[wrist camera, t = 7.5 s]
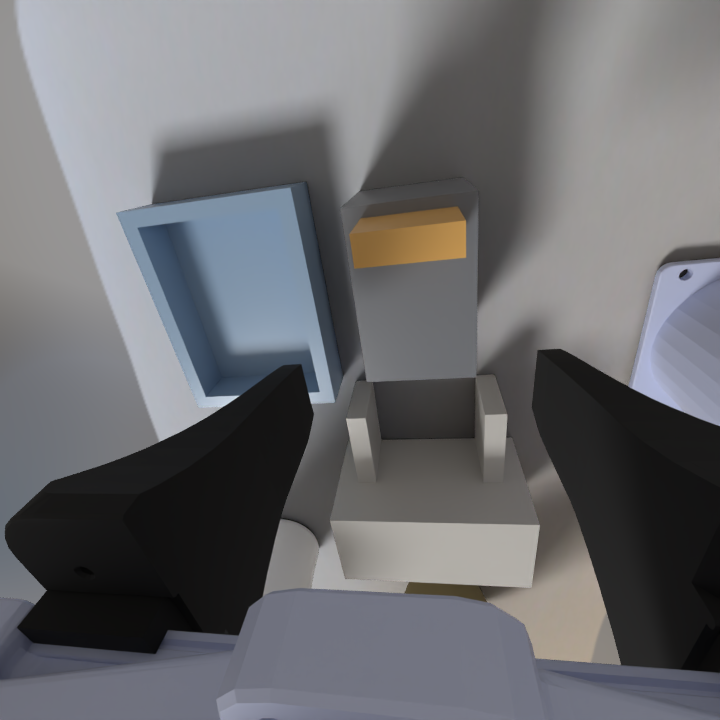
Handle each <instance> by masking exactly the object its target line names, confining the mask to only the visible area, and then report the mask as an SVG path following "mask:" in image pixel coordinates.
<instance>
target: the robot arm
mask: <svg viewBox="0 0 720 720" xmlns="http://www.w3.org/2000/svg"><path fill="white" fill-rule="evenodd" d="M685 269H687V273H686V275H684V276H683V277H681V278H679V274H680V273H681V272H682V271H683V270H685ZM532 409H533V413H534V416H535V420H536V423H537V427H538V430H539V433H540V436H541V438H542V441H543V443H544V445H545V447H546V450H547V452H548V454H549V456H550V458H551V460H552V463H553V465H554V467H555V469H556V471H557V473H558V475H559V478H560V480H561V482H562V484H563V486H564V488H565V490H566V493H567V495H568V497H569V499H570V501H571V504H572V506H573V509H574V511H575V513H576V516H577V519H578V522H579V525H580V528H581V531H582V534H583V537H584V540H585V543H586V546H587V549H588V552H589V555H590V558H591V561H592V564H593V568H594V571H595V574H596V577H597V580H598V584H599V587H600V590H601V594H602V597H603V601H604V604H605V607H606V611H607V614H608V618H609V621H610V625H611V628H612V631H613V635H614V639H615V642H616V646H617V650H618V654H619V658H620V661H621V665H612V664H599V663H587V662H574V661H561V660H548V659H535V656H534V652H533V647H532V643H531V641H530V638H529V636H528V633H527V631H526V628H525V625H524V624H523V623H521V622H520V621H519V620H517V619H516V618H515V617H513V616H511V615H510V614H508V613H506V612H505V611H503V610H501V609H500V608H498V607H496V606H495V605H493V604H491V603H488V602H483V601H478V600H473V599H468V598H463V597H458V596H444V595H424V594H405V593H385V592H366V591H347V590H327V589H308V588H296V589H288V590H279V591H272V592H270V593H268V594H266V595H264V596H263V593H264V588H265V583H266V578H267V573H268V569H269V564H270V560H271V556H272V551H273V547H274V542H275V538H276V534H277V531H278V527H279V523H280V519H281V515H282V511H283V508H284V505H285V502H286V499H287V496H288V494H289V491H290V488H291V486H292V483H293V480H294V478H295V475H296V472H297V470H298V467H299V465H300V462H301V459H302V456H303V454H304V451H305V448H306V445H307V443H308V439H309V435H310V431H311V426H312V421H313V416H314V413H313V409H312V405H311V401H310V397H309V393H308V389H307V385H306V381H305V377H304V373H303V369H302V365H301V364H292V365H283V366H281V367H279V368H278V369H276V370H275V371H273V372H272V373H270V374H269V375H268V376H266V377H265V378H263V379H262V380H261V381H259V382H258V383H257V384H255V385H254V386H253V387H251V388H250V389H248V390H247V391H246V392H244V393H243V394H242V395H240V396H239V397H237V398H236V399H234V400H233V401H231V402H230V403H228V404H227V405H225V406H224V407H222V408H221V409H219V410H218V411H216V412H215V413H213V414H212V415H210V416H208V417H207V418H205V419H203V420H202V421H200V422H198V423H196V424H195V425H193V426H191V427H189V428H187V429H185V430H184V431H182V432H180V433H178V434H176V435H173V436H171V437H169V438H167V439H165V440H163V441H161V442H159V443H157V444H154V445H152V446H150V447H148V448H146V449H143V450H141V451H138V452H136V453H133V454H131V455H129V456H126V457H123V458H121V459H118V460H115V461H113V462H110V463H107V464H105V465H101V466H99V467H96V468H92V469H89V470H86V471H83V472H80V473H77V474H73V475H70V476H67V477H64V478H61V479H57V480H54V481H51V482H50V483H49V484H47V485H46V486H45V487H44V488H43V489H42V490H41V491H40V492H39V493H38V494H37V495H36V496H35V497H34V498H32V499H31V500H30V501H29V502H28V503H27V504H26V505H25V506H24V507H23V508H22V509H21V510H20V511H19V512H17V513H16V514H15V515H14V516H13V517H12V518H11V519H10V521H9V522H8V523H7V524H6V526H5V539H6V542H7V544H8V547H9V549H10V550H11V551H12V553H13V554H14V555H15V557H16V558H17V559H18V560H19V561H20V562H21V563H22V564H23V565H24V566H25V568H26V569H27V570H28V571H29V572H30V573H31V574H32V575H33V576H34V577H35V578H36V579H37V581H38V582H39V583H40V584H41V585H42V586H43V587H44V588H45V589H46V590H47V591H46V592H45V594H44V595H43V596H42V597H41V599H40V600H39V601H38V602H37V603H36V605H34V604H33V603H31V602H28V601H26V600H22V599H14V598H0V720H720V258H713V259H702V260H691V261H680V262H670V263H666V264H665V265H663V266H661V267H660V268H659V269H658V271H657V273H656V275H655V279H654V283H653V288H652V292H651V296H650V300H649V304H648V308H647V312H646V316H645V321H644V325H643V329H642V333H641V337H640V341H639V345H638V349H637V354H636V358H635V362H634V366H633V370H632V374H631V378H630V383H629V387H628V386H626V385H624V384H622V383H621V382H619V381H617V380H615V379H613V378H611V377H610V376H608V375H606V374H604V373H603V372H601V371H599V370H597V369H596V368H594V367H592V366H590V365H589V364H587V363H585V362H584V361H582V360H580V359H578V358H577V357H575V356H573V355H571V354H570V353H568V352H566V351H564V350H562V349H551V350H538V352H537V362H536V372H535V382H534V392H533V402H532ZM684 412H685V413H684Z"/></svg>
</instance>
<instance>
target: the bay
mask: <svg viewBox="0 0 720 720" xmlns="http://www.w3.org/2000/svg"><path fill="white" fill-rule="evenodd" d="M346 421H347V426H348V431H349V436H350V440H349V441H348V444H347V448H346V452H345V457H344V461H343V465H342V470H341V474H340V478H339V483H338V487H337V491H336V496H335V500H334V505H333V509H332V513H331V518H330V523H331V527H332V531H333V535H334V538H335V542H336V546H337V550H338V554H339V557H340V561H341V565H342V569H343V572H344V576H345V579H360V580H381V581H401V582H421V583H442V584H462V585H482V586H503V587H523V588H531V587H532V580H533V573H534V565H535V558H536V551H537V544H538V536H539V529H540V523H539V520H538V517H537V514H536V511H535V508H534V505H533V501H532V498H531V495H530V492H529V489H528V486H527V483H526V479H525V476H524V473H523V470H522V467H521V464H520V461H519V458H518V454H517V451H516V448H515V445H514V442H513V439H512V438H506V430H507V411H506V408H505V405H504V402H503V399H502V396H501V393H500V390H499V387H498V384H497V381H496V378H495V375H494V374H493V375H476V377H475V438H460V439H404V440H381V434H380V427H379V420H378V413H377V406H376V399H375V392H374V385H373V382H367V381H366V380H365V381H356V382H355V386H354V390H353V394H352V398H351V401H350V405H349V409H348V413H347V417H346Z"/></svg>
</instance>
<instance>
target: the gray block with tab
mask: <svg viewBox="0 0 720 720" xmlns="http://www.w3.org/2000/svg"><path fill="white" fill-rule="evenodd" d="M478 206H479V190H478V189H477V188H475V187H474V186H473V185H472V184H471V183H469V182H468V181H467V180H466V179H465V178H463V177H460V178H453V179H445V180H438V181H431V182H424V183H416V184H409V185H402V186H394V187H387V188H380V189H372V190H365V191H359V192H358V193H357V194H356V195H355V196H354V197H352V198H351V199H350V200H349V201H348V202H347V203H346V204H344V205H343V206H342V207H341V208H340V211H341V217H342V224H343V230H344V237H345V243H346V250H347V256H348V263H349V269H350V276H351V283H352V289H353V296H354V302H355V309H356V315H357V322H358V328H359V335H360V341H361V348H362V355H363V361H364V368H365V374H366V381H367V382H382V381H404V380H427V379H450V378H473V377H476V364H477V285H478Z"/></svg>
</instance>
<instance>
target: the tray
mask: <svg viewBox="0 0 720 720" xmlns="http://www.w3.org/2000/svg"><path fill="white" fill-rule="evenodd" d="M116 214H117V216H118V218H119V221H120V223H121V225H122V228H123V230H124V233H125V235H126V237H127V240H128V242H129V244H130V247H131V249H132V251H133V254H134V256H135V259H136V261H137V263H138V266H139V268H140V270H141V273H142V275H143V277H144V280H145V282H146V285H147V287H148V289H149V292H150V294H151V296H152V299H153V301H154V303H155V306H156V308H157V310H158V313H159V315H160V318H161V320H162V322H163V325H164V327H165V329H166V332H167V334H168V336H169V339H170V341H171V344H172V346H173V348H174V351H175V353H176V355H177V358H178V360H179V362H180V365H181V367H182V370H183V372H184V374H185V377H186V379H187V381H188V384H189V386H190V388H191V391H192V393H193V395H194V398H195V400H196V403H197V405H198V407H199V408H204V407H224V406H225V405H227V404H228V403H230V402H231V401H233V400H234V399H236V398H237V397H239V396H240V395H242V394H243V393H244V392H246V391H247V390H248V389H250V388H251V387H253V386H254V385H255V384H257V383H258V382H259V381H261V380H262V379H263V378H265V377H266V376H268V375H269V374H270V373H272V372H273V371H275V370H276V369H278V368H279V367H281V366H283V365H292V364H301V365H302V369H303V373H304V377H305V381H306V385H307V389H308V393H309V397H310V401H311V404H313V403H335V402H336V399H337V395H338V392H339V389H340V386H341V383H342V379H343V373H342V368H341V363H340V358H339V352H338V347H337V342H336V336H335V331H334V326H333V320H332V315H331V310H330V304H329V299H328V294H327V288H326V283H325V278H324V272H323V267H322V262H321V256H320V251H319V246H318V240H317V235H316V230H315V224H314V219H313V214H312V209H311V203H310V198H309V193H308V187H307V182H300V183H293V184H286V185H279V186H273V187H266V188H259V189H252V190H245V191H238V192H232V193H225V194H218V195H211V196H204V197H198V198H191V199H184V200H177V201H170V202H164V203H157V204H150V205H146V206H142V207H138V208H134V209H130V210H126V211H121V212H117V213H116Z"/></svg>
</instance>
